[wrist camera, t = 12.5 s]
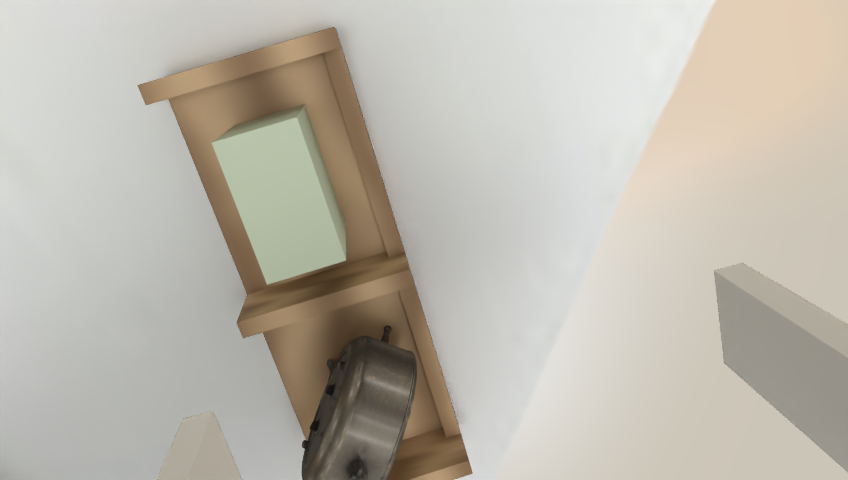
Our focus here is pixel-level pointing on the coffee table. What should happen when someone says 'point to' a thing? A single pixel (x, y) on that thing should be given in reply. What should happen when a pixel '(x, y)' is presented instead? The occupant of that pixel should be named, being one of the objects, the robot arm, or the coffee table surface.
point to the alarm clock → (361, 412)
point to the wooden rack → (365, 238)
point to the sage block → (283, 193)
